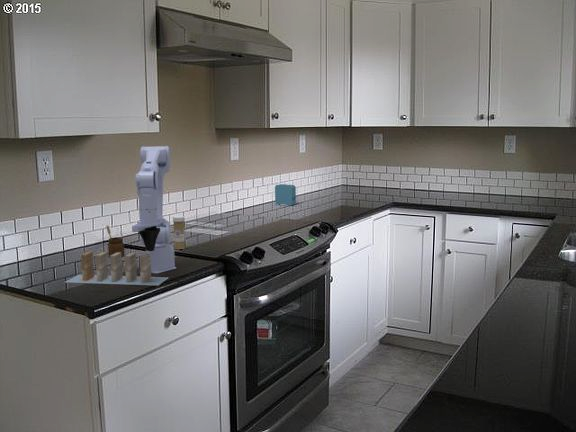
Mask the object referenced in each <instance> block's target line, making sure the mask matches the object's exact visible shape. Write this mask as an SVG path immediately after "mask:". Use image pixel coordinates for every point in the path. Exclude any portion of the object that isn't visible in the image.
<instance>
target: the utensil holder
mask: <svg viewBox="0 0 576 432" xmlns="http://www.w3.org/2000/svg"><path fill="white" fill-rule="evenodd" d="M106 230H107V233H108V235H109V238H108V245H107V250H108V252H107V254H108V257H109V258H110V255H113V254H115V253H117V252H120V253H121V256H123V257H125V244H124V238H123V236H122V233H123V230H122V228H118V230H117V231H118V232H117V231H116V233H115V234H116V237H115V236H113V237H112V236H111V234H112V233H111V229H110V226H109V225H106ZM119 230H120V234H119V236H118V233H119Z"/></svg>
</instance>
